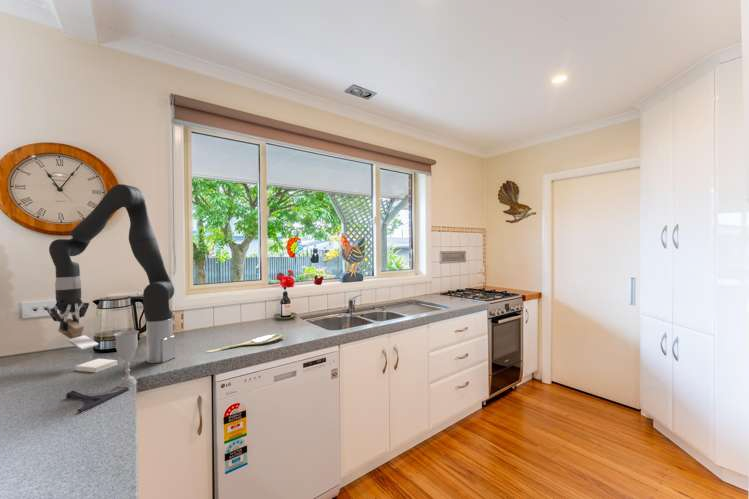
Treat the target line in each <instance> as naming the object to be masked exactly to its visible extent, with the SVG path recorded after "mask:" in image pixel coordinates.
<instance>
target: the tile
mask: <svg viewBox="0 0 749 499" xmlns="http://www.w3.org/2000/svg"><path fill="white" fill-rule="evenodd" d="M114 366H118V360H117V359H105V358H95V359H93V360H90V361H86V362H84V363H80V364H77V365H75V370H76V371H78V372H88V373H89V372H90V373H98V372H101V371H105V370H106V369H109V368H112V367H114Z"/></svg>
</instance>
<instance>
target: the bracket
mask: <svg viewBox="0 0 749 499" xmlns="http://www.w3.org/2000/svg"><path fill="white" fill-rule="evenodd" d="M129 391H130V387H129V386H128V387H122V388H120V389H119V390H117V391H114V392H110V393H105V394H100V395H98V394H97V395H87V394H83V393H80V392H78V391H76V390H71V391H68V392H67V393H66V395H65V398H67V399H68V400H78V399H81V400H80V401H82V402H84V404H83V405H82V407H80V408H78V409H77V410H76V413H77V412H78V411H81V412H83V411H85V412H87V411H89V410H91V409H93V408H95V407H97V406H99V405H102V404H103V403H106V402H107V401H109V400H112V399H114V398H116V397H119V396H120V395H122V394H124V393H126V392H129ZM88 409H89V410H88ZM86 410H87V411H86ZM81 412H80V413H81ZM83 413H84V412H83Z"/></svg>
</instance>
